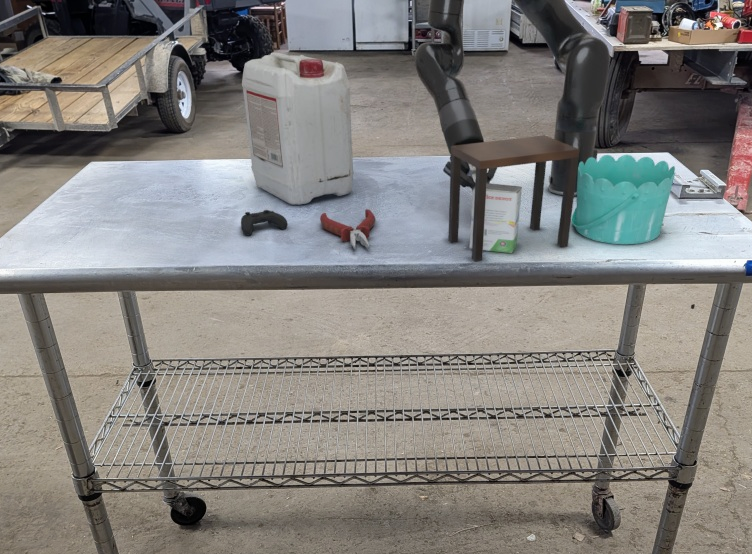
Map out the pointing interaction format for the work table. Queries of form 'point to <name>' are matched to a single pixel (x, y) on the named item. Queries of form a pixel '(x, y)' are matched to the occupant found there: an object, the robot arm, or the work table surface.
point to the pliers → (350, 229)
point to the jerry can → (299, 126)
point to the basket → (622, 199)
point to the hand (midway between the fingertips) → (484, 202)
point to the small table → (511, 155)
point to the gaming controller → (261, 220)
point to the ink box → (499, 217)
